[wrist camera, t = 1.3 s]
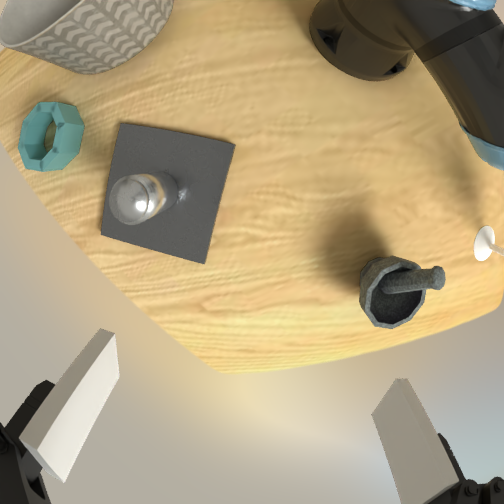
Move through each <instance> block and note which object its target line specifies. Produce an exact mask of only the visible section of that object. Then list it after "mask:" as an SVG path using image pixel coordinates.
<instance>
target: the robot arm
mask: <svg viewBox="0 0 504 504" xmlns="http://www.w3.org/2000/svg"><path fill="white" fill-rule="evenodd" d="M495 3H496V0H321V1H320V2H319V3H318V4H317V5H316V7H315V8H314V11H313V13H312V16H311V18H310V33H311V36H312V39H313V41H314V43H315V45H316V47H317V48H318V50H319V51H320V52H321V54H322V55H323V56H324V57H325V58H326V59H327V60H328V61H329V62H330V63H332V64H333V65H334V66H335V67H337V68H338V69H340V70H341V71H343V72H345V73H347V74H349V75H351V76H353V77H356V78H359V79H363V80H368V81H383V80H388V79H390V78H393V77H394V76H396V75H398V74H400V73H401V72H402V71H404V70H405V69H406V68H407V66H408V65H409V63H410V61H411V59H412V57H413V55H414V53H416V55H417V56H418V57H419V58H420V60H421V61H422V63H423V64H424V65H425V67H426V68H427V70H428V71H429V72H430V74H431V75H432V77H433V78H434V80H435V81H436V83H437V84H438V86H439V87H440V89H441V91H442V92H443V94H444V95H445V97H446V99H447V100H448V102H449V104H450V106H451V107H452V109H453V111H454V113H455V115H456V116H457V118H458V121H459V124H460V127H461V128H462V130H463V131H464V132H465V133H466V134H467V136H468V138H469V140H470V142H471V144H472V146H473V147H474V149H475V151H476V153H477V154H478V156H479V157H480V158H481V159H482V160H484V161H485V162H487V163H488V164H489V165H491V166H493V167H495V168H497V169H500V170H504V24H503V23H502V22H501V20H500V19H499V17H498V16H497V14H496V13H495V12H494V10H493V9H492V8H494V7H495ZM119 376H120V375H119V368H118V359H117V350H116V339H115V333H112V332H110V331H106V330H104V329H99V331H98V332H97V333H96V334H95V335H94V337H93V338H92V339H91V340H90V342H89V343H88V344H87V345H86V346H85V348H84V349H83V350H82V352H81V353H80V354H79V355H78V356H77V358H76V359H75V360H74V362H73V363H72V364H71V365H70V367H69V368H68V369H67V371H66V372H65V373H64V374H63V376H62V377H61V378H60V380H59V381H58V382H57V384H56V385H55V384H53V383H51V382H49V381H48V380H45V381H43V382H42V383H40V384H38V385H36V387H35V388H34V389H33V390H32V392H31V393H30V395H29V396H28V397H27V398H26V399H25V401H24V403H22V405H21V406H20V408H19V409H18V410H17V412H16V413H15V414H14V416H13V417H12V419H11V420H10V421H9V423H8V424H7V426H6V427H5V428H4V427H3V425H2V424H1V423H0V504H51V502H50V499H49V497H48V494H47V491H46V488H45V485H44V483H43V479H42V476H41V474H40V471H41V470H42V468H43V469H44V470H45V471H46V472H47V473H48V474H49V475H51V476H53V477H55V478H56V479H58V480H60V481H62V482H64V483H65V480H66V478H67V476H68V474H69V472H70V470H71V468H72V466H73V464H74V462H75V460H76V457H77V455H78V453H79V451H80V449H81V447H82V445H83V443H84V441H85V440H86V438H87V436H88V434H89V431H90V430H91V428H92V426H93V424H94V422H95V420H96V418H97V417H98V415H99V413H100V411H101V409H102V407H103V405H104V404H105V402H106V400H107V398H108V396H109V394H110V393H111V391H112V389H113V387H114V386H115V384H116V382H117V380H118V378H119ZM371 415H372V417H373V420H374V423H375V425H376V428H377V431H378V434H379V436H380V439H381V442H382V445H383V448H384V451H385V454H386V457H387V460H388V463H389V466H390V468H391V472H392V475H393V478H394V481H395V484H396V487H397V491H398V494H399V497H400V500H401V504H504V480H503V479H502V478H501V477H494V478H493V479H492V480H491V481H490V482H488V483H486V484H477V483H476V482H475V481H474V480H470V479H468V480H466V479H465V477H464V476H463V473H462V471H461V469H460V467H459V465H458V463H457V461H456V459H455V456H453V452H452V450H450V446H449V444H448V442H447V440H446V439H445V438H444V437H443V436H442V435H441V434H440V433H438V434H437V433H436V431H435V429H434V427H433V425H432V423H431V421H430V419H429V417H428V415H427V413H426V412H425V410H424V408H423V406H422V404H421V402H420V401H419V399H418V397H417V395H416V393H415V392H414V390H413V388H412V386H411V384H410V383H409V381H408V379H395V381H394V382H393V384H392V385H391V387H390V388H389V390H388V391H387V393H386V394H385V396H384V397H383V399H382V400H381V402H380V403H379V405H378V406H377V407H376V409H375V410H374V412H373V413H372V414H371Z"/></svg>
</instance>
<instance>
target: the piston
mask: <svg viewBox="0 0 504 504" xmlns="http://www.w3.org/2000/svg"><path fill="white" fill-rule="evenodd" d="M235 146H236V145H235V144H231V143H226V142H222V141H218V140H214V139H209V138H205V137H200V136H195V135H190V134H185V133H180V132H175V131H169V130H163V129H157V128H151V127H145V126H138V125H131V124H123V123H121V125H120V129H119V133H118V137H117V141H116V145H115V150H114V154H113V159H112V164H111V169H110V174H109V179H108V185H107V191H106V198H105V204H104V212H103V220H102V229H101V235H103V236H107V237H110V238H113V239H117V240H120V241H123V242H127V243H130V244H134V245H137V246H141V247H144V248H148V249H151V250H155V251H158V252H162V253H165V254H169V255H172V256H176V257H180V258H183V259H187V260H190V261H194V262H198V263H201V264H205V262H206V258H207V254H208V250H209V246H210V241H211V237H212V233H213V229H214V225H215V221H216V217H217V213H218V209H219V205H220V201H221V197H222V194H223V190H224V186H225V182H226V178H227V175H228V171H229V167H230V164H231V160H232V157H233V153H234V149H235Z"/></svg>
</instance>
